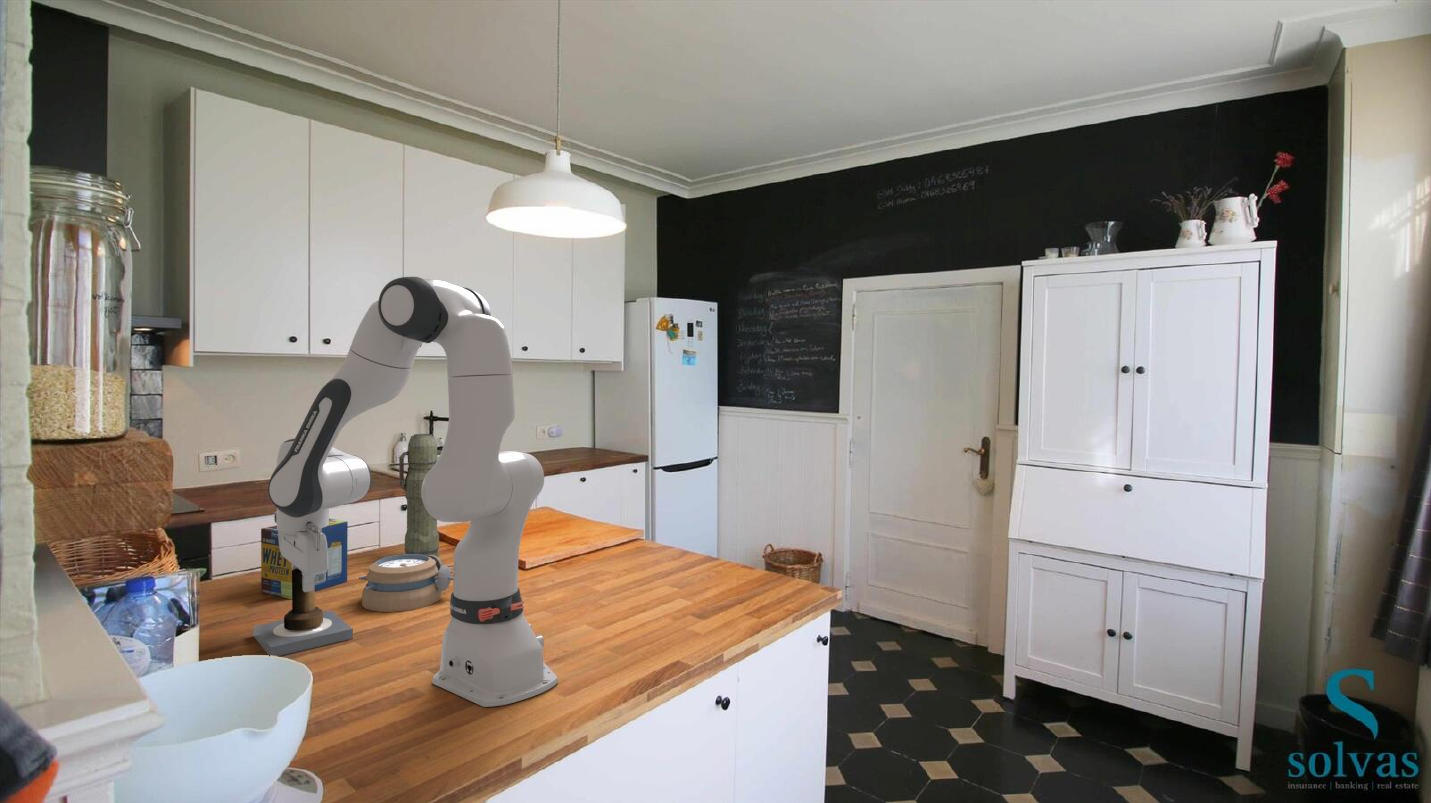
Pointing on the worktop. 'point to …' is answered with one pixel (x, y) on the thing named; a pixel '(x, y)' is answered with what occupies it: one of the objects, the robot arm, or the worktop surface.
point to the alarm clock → (405, 582)
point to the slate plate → (301, 635)
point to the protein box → (279, 569)
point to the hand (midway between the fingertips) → (303, 587)
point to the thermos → (419, 495)
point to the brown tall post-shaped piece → (302, 606)
